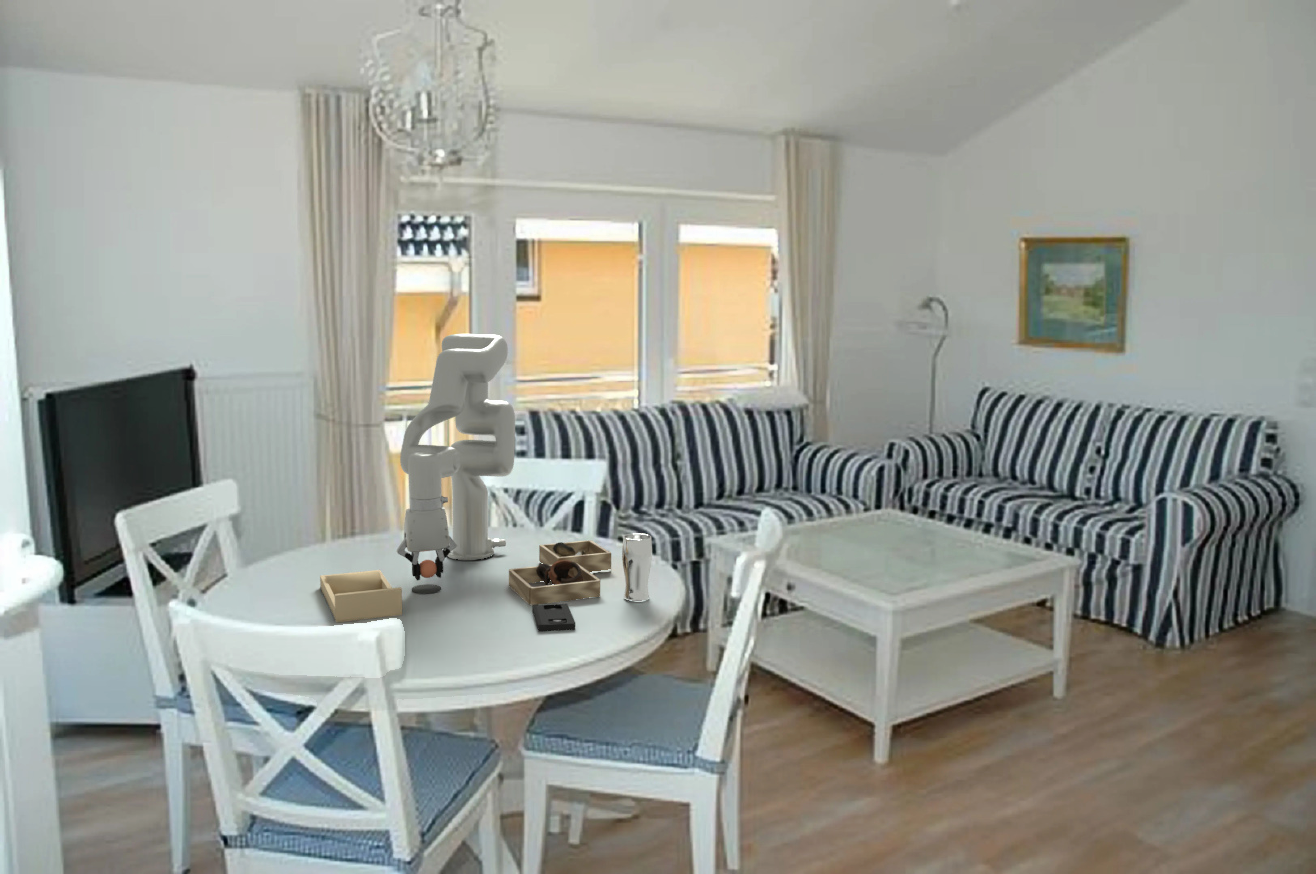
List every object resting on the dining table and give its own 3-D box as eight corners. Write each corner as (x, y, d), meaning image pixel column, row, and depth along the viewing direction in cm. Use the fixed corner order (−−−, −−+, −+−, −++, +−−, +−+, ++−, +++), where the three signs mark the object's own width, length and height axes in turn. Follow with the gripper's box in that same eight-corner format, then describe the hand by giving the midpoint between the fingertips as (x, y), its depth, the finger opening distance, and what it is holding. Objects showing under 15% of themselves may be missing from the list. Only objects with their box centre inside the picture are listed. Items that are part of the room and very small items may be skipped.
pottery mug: (585, 586, 247) (589, 562, 242) (572, 612, 240) (576, 588, 235) (540, 571, 249) (543, 547, 244) (526, 596, 241) (528, 573, 236)
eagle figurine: (585, 559, 266) (552, 552, 266) (588, 541, 262) (554, 534, 261) (580, 580, 260) (546, 574, 260) (583, 563, 256) (549, 556, 256)
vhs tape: (575, 632, 213) (575, 623, 213) (538, 634, 211) (538, 625, 211) (567, 611, 227) (567, 603, 227) (532, 613, 225) (532, 604, 225)
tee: (437, 584, 244) (437, 582, 244) (444, 592, 238) (444, 590, 238) (408, 587, 241) (408, 586, 241) (414, 595, 235) (414, 593, 235)
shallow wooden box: (575, 577, 252) (575, 562, 252) (601, 597, 237) (601, 580, 236) (507, 585, 245) (507, 569, 244) (530, 605, 229) (530, 588, 229)
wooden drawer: (380, 597, 246) (379, 558, 245) (402, 632, 221) (401, 588, 220) (320, 603, 240) (319, 563, 239) (336, 640, 215) (335, 595, 214)
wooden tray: (590, 558, 272) (590, 540, 271) (611, 571, 258) (611, 552, 258) (539, 563, 265) (539, 544, 265) (557, 577, 252) (557, 558, 252)
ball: (434, 573, 243) (434, 556, 242) (439, 579, 239) (438, 561, 239) (416, 576, 241) (416, 558, 241) (420, 581, 237) (420, 563, 237)
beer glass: (629, 604, 231) (630, 541, 229) (616, 596, 237) (617, 534, 235) (656, 600, 234) (657, 538, 232) (643, 593, 240) (644, 532, 238)
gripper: (457, 497, 244) (458, 569, 247) (386, 503, 237) (389, 577, 240) (464, 504, 237) (466, 577, 241) (392, 510, 230) (395, 586, 233)
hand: (427, 576), depth 240 cm, fingers closed on ball, 4 cm apart
